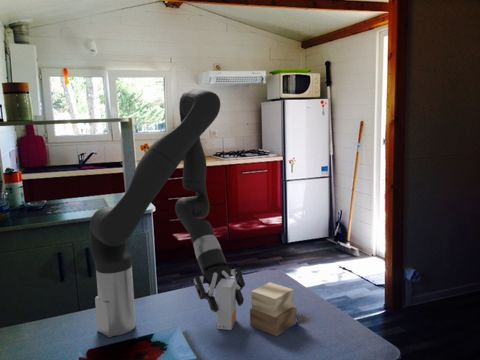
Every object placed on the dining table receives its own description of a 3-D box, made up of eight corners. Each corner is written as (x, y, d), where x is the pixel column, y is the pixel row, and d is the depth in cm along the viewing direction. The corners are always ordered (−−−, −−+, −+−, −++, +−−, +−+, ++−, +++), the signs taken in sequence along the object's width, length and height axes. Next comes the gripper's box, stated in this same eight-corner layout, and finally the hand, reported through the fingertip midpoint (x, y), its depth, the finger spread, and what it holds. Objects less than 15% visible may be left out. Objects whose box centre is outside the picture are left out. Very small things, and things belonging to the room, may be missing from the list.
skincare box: (232, 330, 110) (230, 287, 108) (216, 329, 111) (215, 286, 109) (236, 319, 116) (235, 279, 114) (222, 318, 117) (220, 278, 115)
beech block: (275, 317, 107) (275, 299, 106) (251, 308, 112) (251, 291, 111) (293, 306, 113) (293, 289, 112) (270, 298, 118) (269, 282, 117)
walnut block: (276, 337, 107) (276, 318, 106) (250, 326, 113) (249, 308, 112) (296, 324, 113) (296, 306, 112) (270, 314, 119) (270, 297, 118)
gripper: (189, 252, 114) (208, 308, 105) (235, 243, 120) (256, 296, 112) (183, 265, 119) (200, 319, 111) (227, 256, 126) (247, 307, 117)
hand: (228, 307), depth 111 cm, fingers closed on skincare box, 7 cm apart
